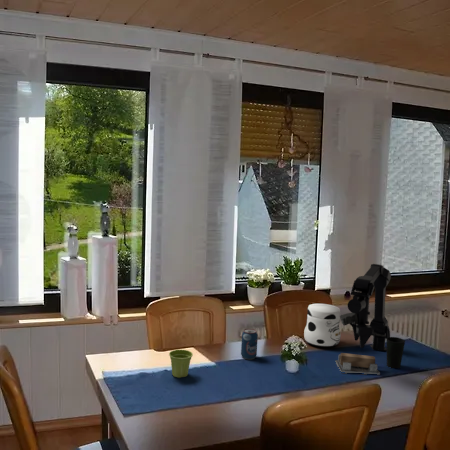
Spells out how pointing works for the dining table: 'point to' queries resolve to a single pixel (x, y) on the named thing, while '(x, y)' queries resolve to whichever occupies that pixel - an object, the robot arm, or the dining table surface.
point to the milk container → (322, 325)
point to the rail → (357, 360)
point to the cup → (394, 351)
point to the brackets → (356, 368)
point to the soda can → (249, 344)
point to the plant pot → (180, 362)
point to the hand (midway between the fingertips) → (358, 344)
